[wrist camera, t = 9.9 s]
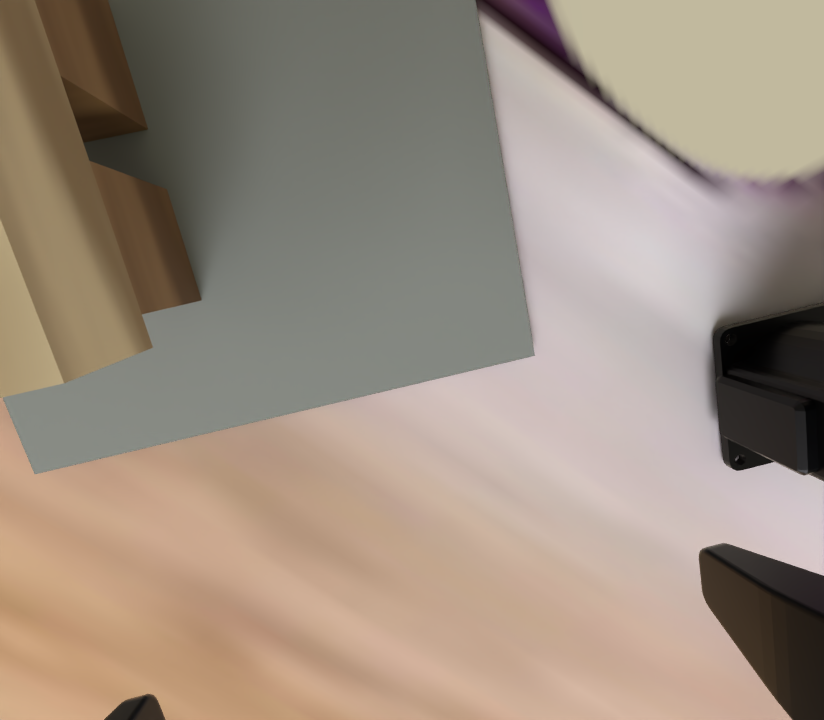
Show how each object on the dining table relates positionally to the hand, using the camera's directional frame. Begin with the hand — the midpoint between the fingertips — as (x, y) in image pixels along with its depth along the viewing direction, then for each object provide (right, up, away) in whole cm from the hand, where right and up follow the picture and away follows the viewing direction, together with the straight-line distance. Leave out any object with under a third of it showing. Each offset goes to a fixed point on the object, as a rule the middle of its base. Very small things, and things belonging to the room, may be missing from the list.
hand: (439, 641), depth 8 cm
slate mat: (-7, +11, +10) cm, 16 cm away
